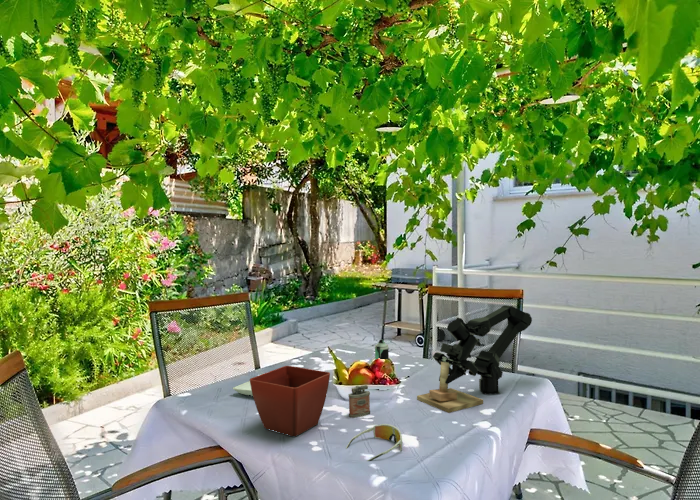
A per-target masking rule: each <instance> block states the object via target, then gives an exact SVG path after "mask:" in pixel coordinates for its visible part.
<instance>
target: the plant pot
mask: <svg viewBox="0 0 700 500" xmlns="http://www.w3.org/2000/svg"><path fill="white" fill-rule="evenodd" d="M330 376H331V372H329V371H324V370H318V369H310V368H305V367H299V366H294V365H293V366H292V365H284V366H282V367H279V368H276V369H273V370H271V371H268V372H265V373H261V374H259V375H257V376H254V377H251V378H250V379H249V381H250V385H251V390H252V394H253V397H252V398H253V400H254V404H255V407H256V410H257V413H258V415H259V418H260V421H261V423H262V425H263V427H264V429H265V428H266V429H270V430H274V431H277V432H280V433H279V434H281V433H284V434H283V435H285V434H288V435H290V436H289V437H292V436H295V437H297V435H298V436H300V435H301V434H303V433H305V432H306V431H308V430H310V429H311V428H313V427H315V426H317V425H318V424H319V421H320V420H321V419H320V418H321V415H322V412H323V411H324V410H323V409H324V406H325V403H326V399H327V394H328V389H329V383H330V378H331V377H330ZM266 429H265V430H266ZM277 432H276V433H277ZM288 435H287V436H288Z"/></svg>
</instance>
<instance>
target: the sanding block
mask: <svg viewBox="0 0 700 500" xmlns="http://www.w3.org/2000/svg"><path fill="white" fill-rule="evenodd" d="M448 376H449V362H441V365H440V373H439V377H440V381H439V386H438V389H429V392H428V393H429V397H431V398H433V399H436V400H438V401H448V400H457V392H454V391H451V390H448V389H449V388H448V387H449V384H446V383H445V382H446V379H447V378H448Z"/></svg>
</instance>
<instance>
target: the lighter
mask: <svg viewBox="0 0 700 500" xmlns="http://www.w3.org/2000/svg"><path fill="white" fill-rule="evenodd" d="M368 389H369V386H368V384H363V385H360V386H359V385H356V386H355V387H351V393H348V395H347V396H348V417H349V418H361V417H366V416H369V415H370V414H371V410H370V409H371V408H370V406H371V405H370V403H371V401H370V398H371V397H370V395H371V392H370V391H369V390H368Z"/></svg>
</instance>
